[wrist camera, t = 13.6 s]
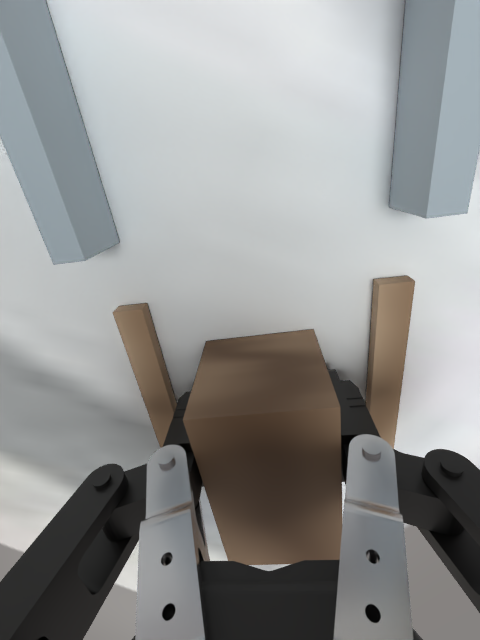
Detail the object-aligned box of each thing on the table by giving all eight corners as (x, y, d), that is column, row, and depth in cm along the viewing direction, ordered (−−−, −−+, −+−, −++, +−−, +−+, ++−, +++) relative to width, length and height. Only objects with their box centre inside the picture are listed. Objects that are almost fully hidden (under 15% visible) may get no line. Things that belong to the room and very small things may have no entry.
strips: (170, 458, 16) (167, 467, 16) (118, 305, 12) (112, 312, 12) (387, 447, 15) (392, 457, 15) (407, 275, 11) (415, 281, 11)
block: (236, 467, 16) (229, 565, 12) (206, 341, 13) (182, 419, 9) (321, 462, 16) (342, 562, 12) (313, 329, 12) (340, 406, 8)
